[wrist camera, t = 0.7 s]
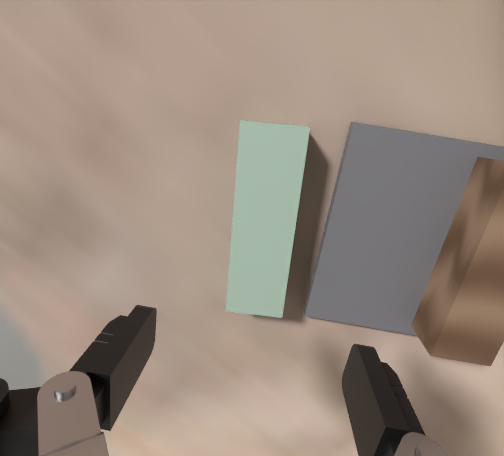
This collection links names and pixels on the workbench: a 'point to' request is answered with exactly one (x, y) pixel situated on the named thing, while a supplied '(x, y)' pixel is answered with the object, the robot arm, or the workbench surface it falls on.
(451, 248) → the walnut board
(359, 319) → the base
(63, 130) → the workbench surface
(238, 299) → the plank
